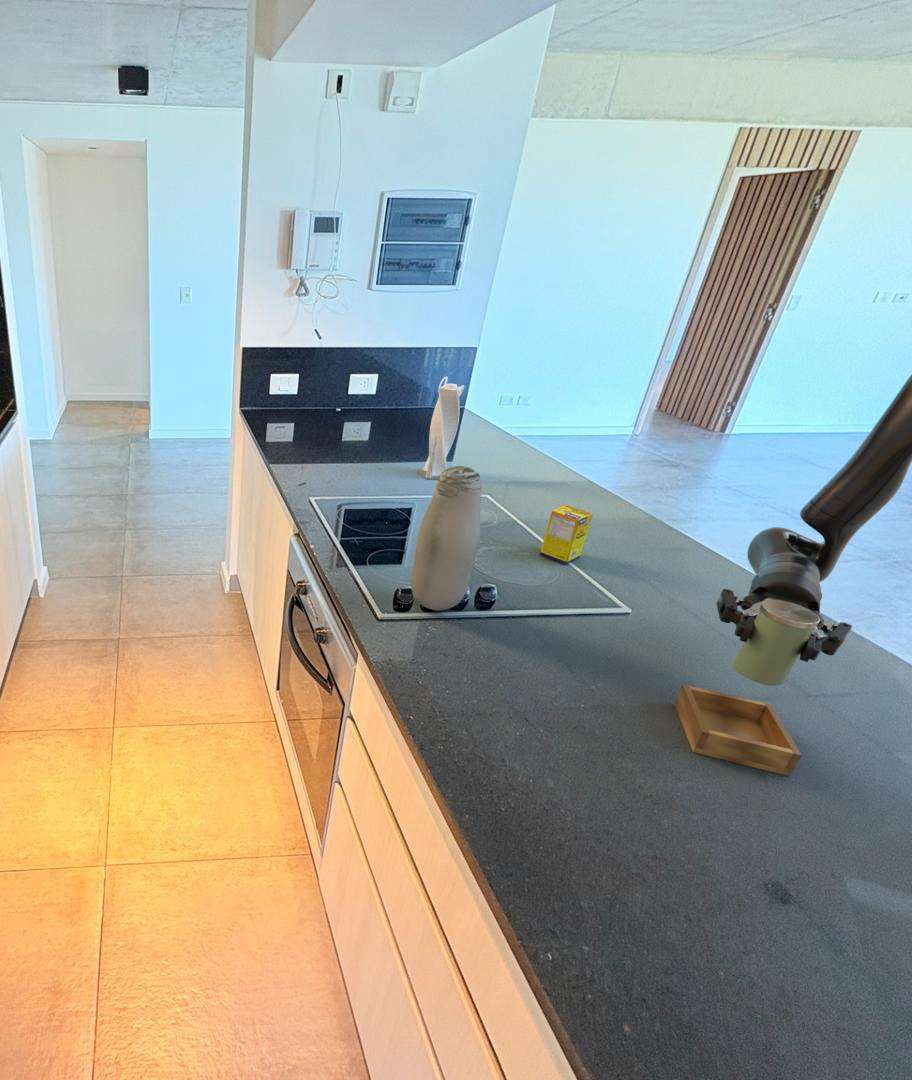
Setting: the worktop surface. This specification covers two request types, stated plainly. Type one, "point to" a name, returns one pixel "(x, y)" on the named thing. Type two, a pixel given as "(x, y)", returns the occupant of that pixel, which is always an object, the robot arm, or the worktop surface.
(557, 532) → the supplement box
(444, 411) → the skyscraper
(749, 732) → the holder
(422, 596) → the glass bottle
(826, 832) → the worktop surface
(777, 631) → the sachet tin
